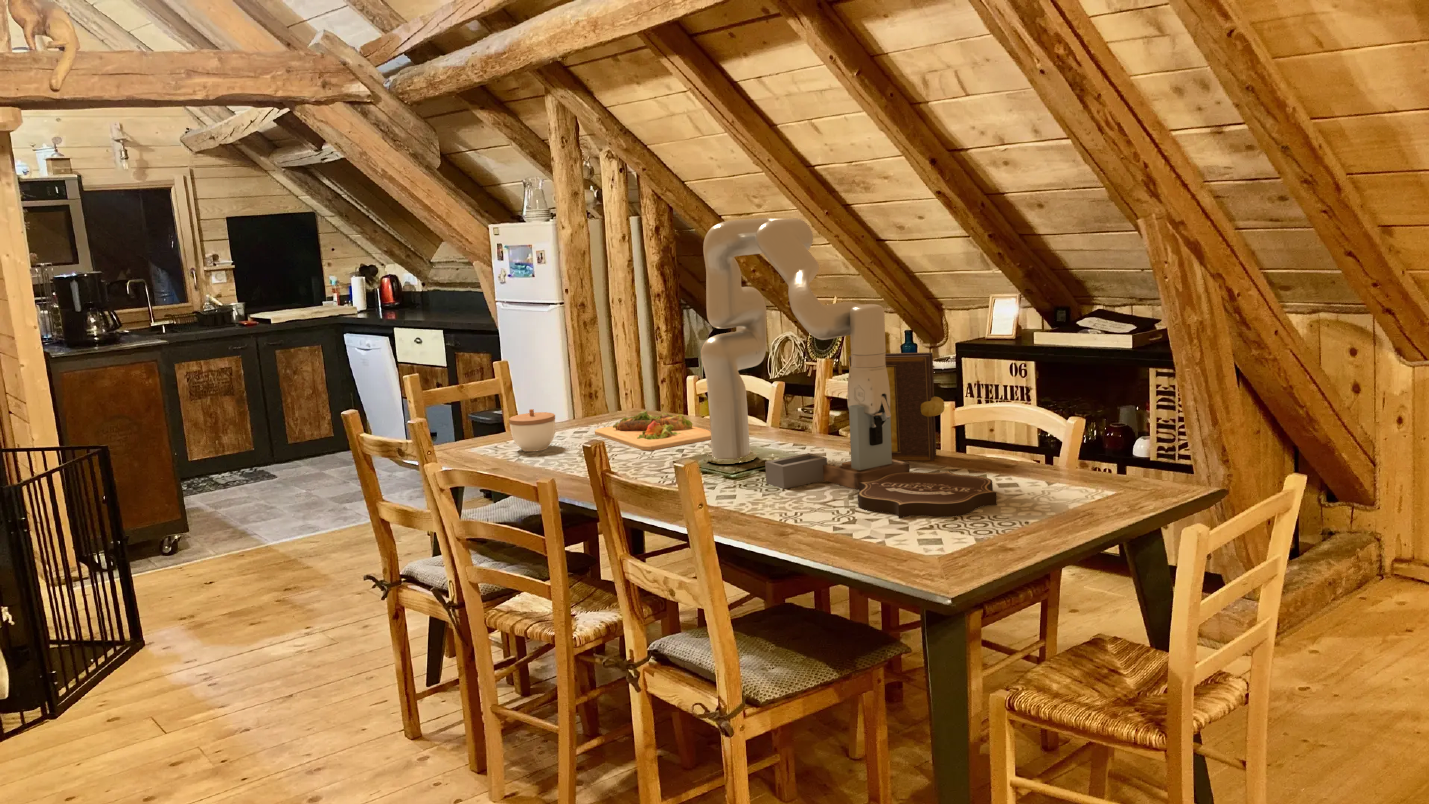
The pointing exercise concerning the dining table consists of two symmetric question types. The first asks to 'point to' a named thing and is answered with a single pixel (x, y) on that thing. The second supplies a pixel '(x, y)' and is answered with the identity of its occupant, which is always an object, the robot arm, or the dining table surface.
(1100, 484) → the dining table surface
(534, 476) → the dining table surface
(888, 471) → the square wooden tray
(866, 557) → the dining table surface
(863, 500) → the decorative plaque
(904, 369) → the book
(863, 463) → the panel
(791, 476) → the holder
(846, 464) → the offcut top
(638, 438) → the cutting board
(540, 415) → the lidded bowl
